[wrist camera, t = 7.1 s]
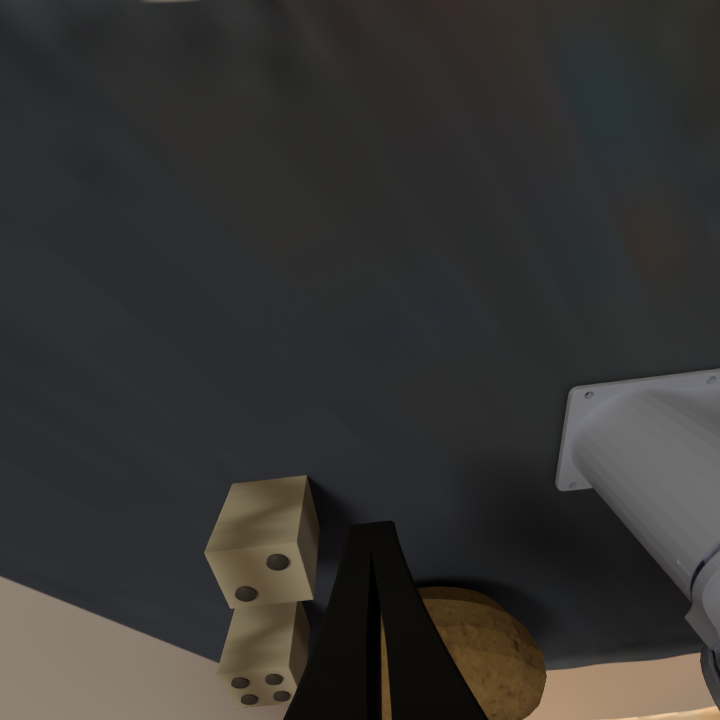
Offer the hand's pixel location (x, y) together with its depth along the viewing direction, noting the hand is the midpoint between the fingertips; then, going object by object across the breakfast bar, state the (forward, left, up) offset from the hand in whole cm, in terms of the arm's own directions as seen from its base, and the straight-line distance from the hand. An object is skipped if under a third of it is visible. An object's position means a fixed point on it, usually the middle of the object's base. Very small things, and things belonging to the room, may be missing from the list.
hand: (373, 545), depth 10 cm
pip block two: (+7, +9, -10) cm, 16 cm away
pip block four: (+10, +21, -10) cm, 26 cm away
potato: (-3, +21, -11) cm, 24 cm away
